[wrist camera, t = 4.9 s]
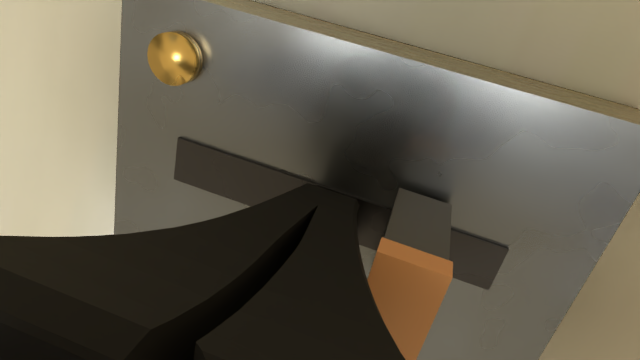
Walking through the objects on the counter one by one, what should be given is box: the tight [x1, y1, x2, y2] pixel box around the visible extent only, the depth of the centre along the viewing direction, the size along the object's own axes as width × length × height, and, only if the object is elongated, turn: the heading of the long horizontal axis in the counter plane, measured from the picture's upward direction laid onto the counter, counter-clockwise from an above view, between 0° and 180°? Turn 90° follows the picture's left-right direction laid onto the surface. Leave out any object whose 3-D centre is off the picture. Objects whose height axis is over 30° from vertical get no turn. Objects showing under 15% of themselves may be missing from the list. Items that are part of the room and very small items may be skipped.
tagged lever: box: [367, 188, 453, 360], centre depth 10 cm, size 1×3×3 cm, turn 166°
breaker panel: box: [114, 0, 640, 360], centre depth 14 cm, size 12×14×2 cm
